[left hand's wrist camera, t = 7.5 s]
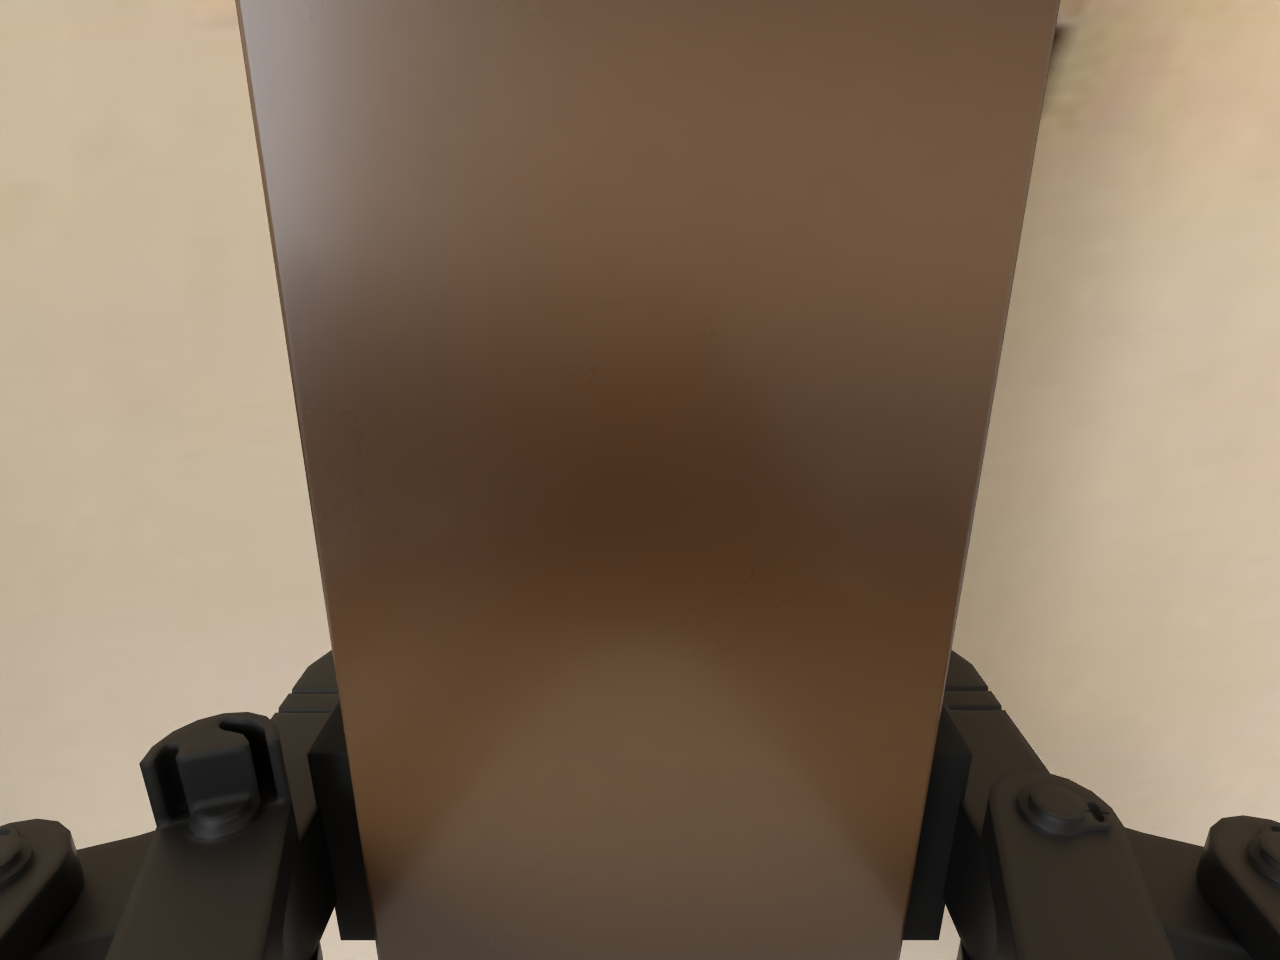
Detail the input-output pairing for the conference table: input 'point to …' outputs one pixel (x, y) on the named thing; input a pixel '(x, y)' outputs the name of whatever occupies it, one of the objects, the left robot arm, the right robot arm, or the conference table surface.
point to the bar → (643, 443)
